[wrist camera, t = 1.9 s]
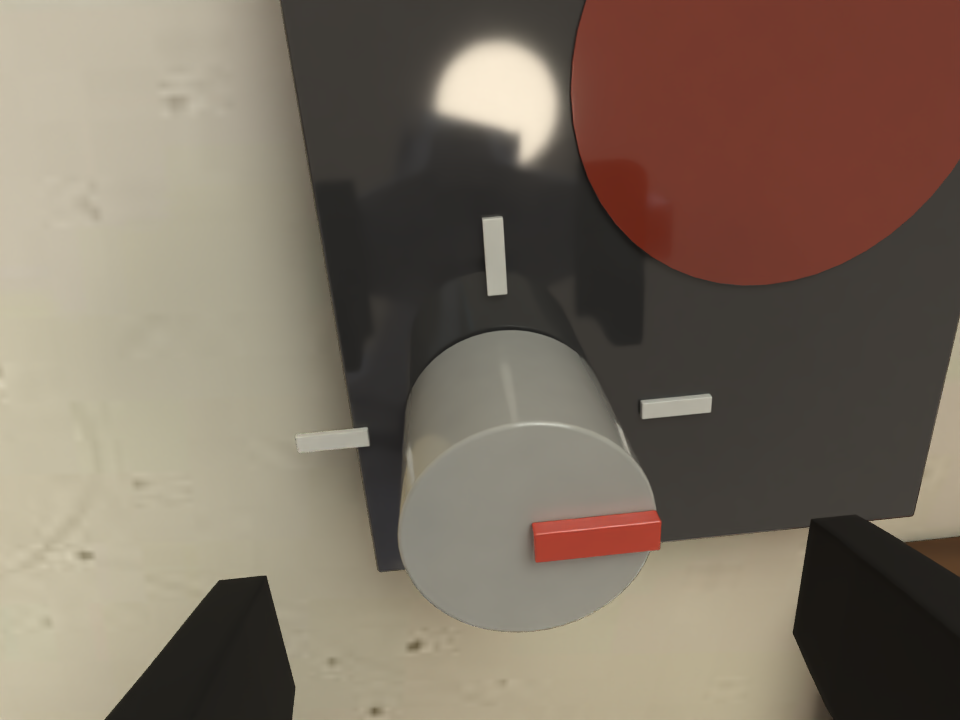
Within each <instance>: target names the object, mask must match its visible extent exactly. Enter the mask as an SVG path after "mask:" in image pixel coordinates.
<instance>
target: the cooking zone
mask: <svg viewBox="0 0 960 720" xmlns="http://www.w3.org/2000/svg"><path fill="white" fill-rule="evenodd" d="M570 101H571V114H572V125H573V129H574V134H575V139H576V144H577V149H578V153H579V156H580V159H581V161H582V164H583V167H584V170H585V173H586V176H587V178H588V180H589V182H590V184H591V186H592V188H593V190H594V192H595V194H596V196H597V198H598V200H599V202H600V203H601V205H602V206H603V207H604V209H605V210H606V212H607V213H608V214H609V216H610V217H611V219H612V220H613V222H614V223H615V224H616V225H617V226H618V227H619V228H620V229H621V230H622V231H623V232H624V233H625V234H626V236H627V237H628V238H629V239H630V240H631V241H632V242H633V243H635V244H636V245H637V246H639V247H640V248H641V249H642V250H644V251H645V252H646V253H647V254H649V255H650V256H651V257H653V258H655V259H656V260H658V261H660V262H662V263H663V264H665V265H667V266H669V267H670V268H672V269H675V270H677V271H680V272H682V273H685V274H687V275H690V276H692V277H695V278H699V279H703V280H708V281H712V282H716V283H723V284H733V285H768V284H775V283H781V282H787V281H793V280H797V279H800V278H804V277H808V276H811V275H815V274H818V273H820V272H823V271H825V270H828V269H830V268H833V267H835V266H838V265H840V264H843V263H844V262H846V261H848V260H850V259H852V258H854V257H856V256H857V255H859V254H861V253H863V252H865V251H867V250H868V249H870V248H871V247H873V246H874V245H876V244H877V243H878V242H880V241H881V240H883V239H884V238H886V237H887V236H889V235H890V234H891V233H893V232H894V231H895V230H896V229H897V228H899V227H900V226H901V225H902V224H903V223H904V222H906V221H907V220H908V219H909V218H910V217H912V216H913V215H914V214H915V213H916V212H917V211H918V210H919V209H920V207H921V206H922V205H923V204H924V203H925V202H926V201H927V200H928V199H929V198H930V197H931V196H932V195H933V194H934V193H935V192H936V190H937V189H938V188H939V187H940V185H941V184H942V183H943V182H944V180H945V179H946V178H947V177H948V175H949V174H950V173H951V172H952V170H953V169H954V167H955V166H956V164H957V162H958V161H959V159H960V0H585V2H584V6H583V9H582V13H581V16H580V20H579V23H578V27H577V31H576V37H575V43H574V49H573V55H572V61H571V81H570Z"/></svg>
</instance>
